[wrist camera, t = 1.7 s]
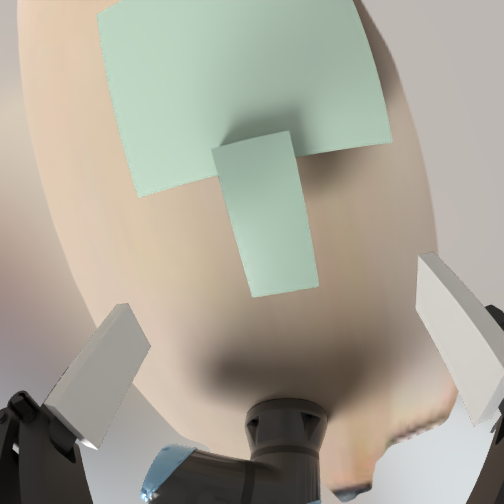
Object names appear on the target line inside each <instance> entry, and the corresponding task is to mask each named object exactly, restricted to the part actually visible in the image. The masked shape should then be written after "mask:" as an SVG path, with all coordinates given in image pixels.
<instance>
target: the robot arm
mask: <svg viewBox="0 0 504 504" xmlns="http://www.w3.org/2000/svg"><path fill="white" fill-rule="evenodd" d="M415 309H416V311H417V313H418V315H419V316H420V318H421V320H422V321H423V323H424V325H425V327H426V329H427V330H428V332H429V334H430V336H431V338H432V339H433V341H434V343H435V345H436V347H437V349H438V351H439V353H440V354H441V356H442V358H443V360H444V362H445V364H446V366H447V368H448V370H449V372H450V374H451V376H452V379H453V381H454V383H455V385H456V387H457V389H458V391H459V394H460V396H461V398H462V400H463V403H464V405H465V407H466V410H467V412H468V414H469V417H470V419H471V422H472V424H473V426H476V425H478V424H480V423H483V422H485V421H487V420H489V419H491V418H492V417H493V415H494V413H495V412H496V411H497V409H498V408H499V410H500V412H501V414H502V415H501V416H500V418H499V419H498V421H497V422H496V423H495V425H494V426H493V428H492V430H491V433H493V432H494V430H495V429H496V431H495V434H494V437H493V440H492V443H491V446H490V449H489V452H488V455H487V458H486V460H485V463H484V465H483V468H482V470H481V472H480V475H479V477H478V479H477V482H476V484H475V486H474V488H473V491H472V492H471V494H470V496H469V499H468V500H467V503H466V504H504V313H503V311H501V310H500V309H498V308H496V307H495V306H493V305H489V306H486V307H484V306H483V305H482V304H481V303H480V302H479V300H478V299H477V298H476V297H475V296H474V294H473V293H472V292H471V291H470V290H469V289H468V288H467V287H466V285H465V284H464V283H463V282H462V281H461V280H460V279H459V278H458V277H457V276H456V274H455V273H454V272H453V271H452V270H451V269H450V268H449V267H448V266H447V265H446V264H445V263H444V262H443V261H442V260H441V259H440V258H439V257H438V256H437V255H436V254H435V253H434V252H429V253H425V254H420V255H418V274H417V293H416V305H415ZM150 347H151V345H150V343H149V342H148V340H147V338H146V336H145V334H144V333H143V331H142V329H141V327H140V325H139V323H138V321H137V319H136V317H135V315H134V314H133V312H132V310H131V308H130V306H129V304H128V303H126V304H118V305H116V306H115V307H114V309H113V310H112V311H111V312H110V314H109V315H108V316H107V317H106V319H105V320H104V321H103V322H102V324H101V325H100V326H99V327H98V329H97V330H96V331H95V333H94V334H93V335H92V336H91V338H90V339H89V340H88V342H87V343H86V344H85V346H84V347H83V349H82V350H81V351H80V352H79V354H78V355H77V356H76V358H75V359H74V361H73V362H72V363H71V365H70V366H69V367H68V368H67V369H66V371H65V372H64V373H63V375H62V377H61V378H60V379H59V381H58V383H57V384H56V385H55V386H54V388H53V389H52V391H51V392H50V394H49V395H48V397H47V398H46V400H45V401H44V403H43V404H42V405H41V407H39V406H38V405H37V403H36V402H35V401H34V400H33V399H32V397H31V396H30V395H29V394H28V393H27V392H26V391H19V392H17V393H16V394H15V395H13V397H11V399H10V400H9V402H8V405H7V407H6V408H3V409H1V410H0V504H93V501H92V498H91V495H90V491H89V487H88V483H87V480H86V476H85V471H84V467H83V463H82V458H81V454H80V449H79V446H78V444H76V443H75V441H76V439H77V438H78V439H79V440H80V441H81V442H82V443H84V445H86V446H88V447H91V448H95V449H97V450H99V448H100V446H101V444H102V441H103V439H104V437H105V435H106V433H107V431H108V429H109V427H110V425H111V423H112V421H113V419H114V417H115V415H116V413H117V411H118V409H119V407H120V405H121V403H122V401H123V399H124V397H125V395H126V393H127V391H128V389H129V387H130V385H131V383H132V381H133V379H134V377H135V376H136V374H137V372H138V370H139V368H140V366H141V364H142V362H143V360H144V358H145V357H146V355H147V353H148V351H149V349H150ZM326 430H327V415H326V413H325V411H324V410H323V409H322V408H321V407H320V406H318V405H316V404H314V403H312V402H309V401H305V400H299V399H277V400H271V401H266V402H263V403H261V404H258V405H256V406H254V407H253V408H252V409H250V410H249V412H248V413H247V415H246V421H245V431H246V435H247V439H248V443H249V447H250V450H251V459H250V461H249V460H244V459H238V458H233V457H228V456H223V455H218V454H214V453H210V452H206V451H202V450H198V449H197V448H195V447H194V448H191V447H187V446H183V445H178V444H168V445H166V446H164V447H163V448H162V449H161V451H160V452H159V453H158V455H157V456H156V458H155V460H154V461H153V463H152V465H151V467H150V469H149V471H148V473H147V475H146V477H145V480H144V482H143V487H142V489H141V491H140V498H141V499H142V500H144V502H149V504H321V499H320V466H319V451H320V448H321V445H322V442H323V439H324V436H325V433H326ZM13 444H15V445H16V446H17V447H18V448H19V454H18V453H16V452H15V451H14V450H13V449H12V448H13Z"/></svg>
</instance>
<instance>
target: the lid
mask: <svg viewBox="0 0 504 504" xmlns="http://www.w3.org/2000/svg"><path fill="white" fill-rule="evenodd" d="M97 20H98V28H99V35H100V42H101V48H102V54H103V60H104V65H105V70H106V76H107V81H108V85H109V90H110V95H111V99H112V104H113V108H114V112H115V117H116V121H117V125H118V129H119V133H120V136H121V140H122V144H123V148H124V151H125V155H126V158H127V162H128V165H129V169H130V172H131V175H132V179H133V182H134V185H135V188H136V192H137V195H138V198H140V197H143V196H146V195H149V194H152V193H156V192H159V191H162V190H166V189H169V188H172V187H176V186H179V185H183V184H186V183H190V182H193V181H197V180H201V179H204V178H208V177H212V176H216V175H218V177H219V181H220V185H221V188H222V192H223V196H224V199H225V203H226V207H227V210H228V214H229V217H230V221H231V224H232V228H233V232H234V235H235V239H236V242H237V246H238V249H239V253H240V256H241V260H242V263H243V267H244V270H245V274H246V277H247V281H248V284H249V288H250V291H251V295H252V298H253V297H260V296H266V295H273V294H279V293H285V292H291V291H297V290H302V289H308V288H314V287H319V281H318V275H317V269H316V262H315V256H314V250H313V245H312V239H311V233H310V228H309V222H308V217H307V212H306V206H305V201H304V196H303V191H302V187H301V182H300V177H299V172H298V168H297V163H296V159H295V158H296V157H301V156H306V155H312V154H317V153H323V152H329V151H335V150H342V149H348V148H355V147H362V146H369V145H377V144H385V143H393V142H392V136H391V130H390V125H389V120H388V115H387V110H386V105H385V101H384V96H383V92H382V88H381V84H380V80H379V77H378V73H377V69H376V66H375V62H374V59H373V55H372V52H371V49H370V46H369V43H368V40H367V37H366V34H365V31H364V28H363V25H362V23H361V20H360V17H359V15H358V12H357V9H356V7H355V4H354V2H353V0H122V1H120V2H118V3H116V4H114V5H112V6H111V7H109V8H107V9H105V10H104V11H102V12H100V13H99V14H97Z"/></svg>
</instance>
